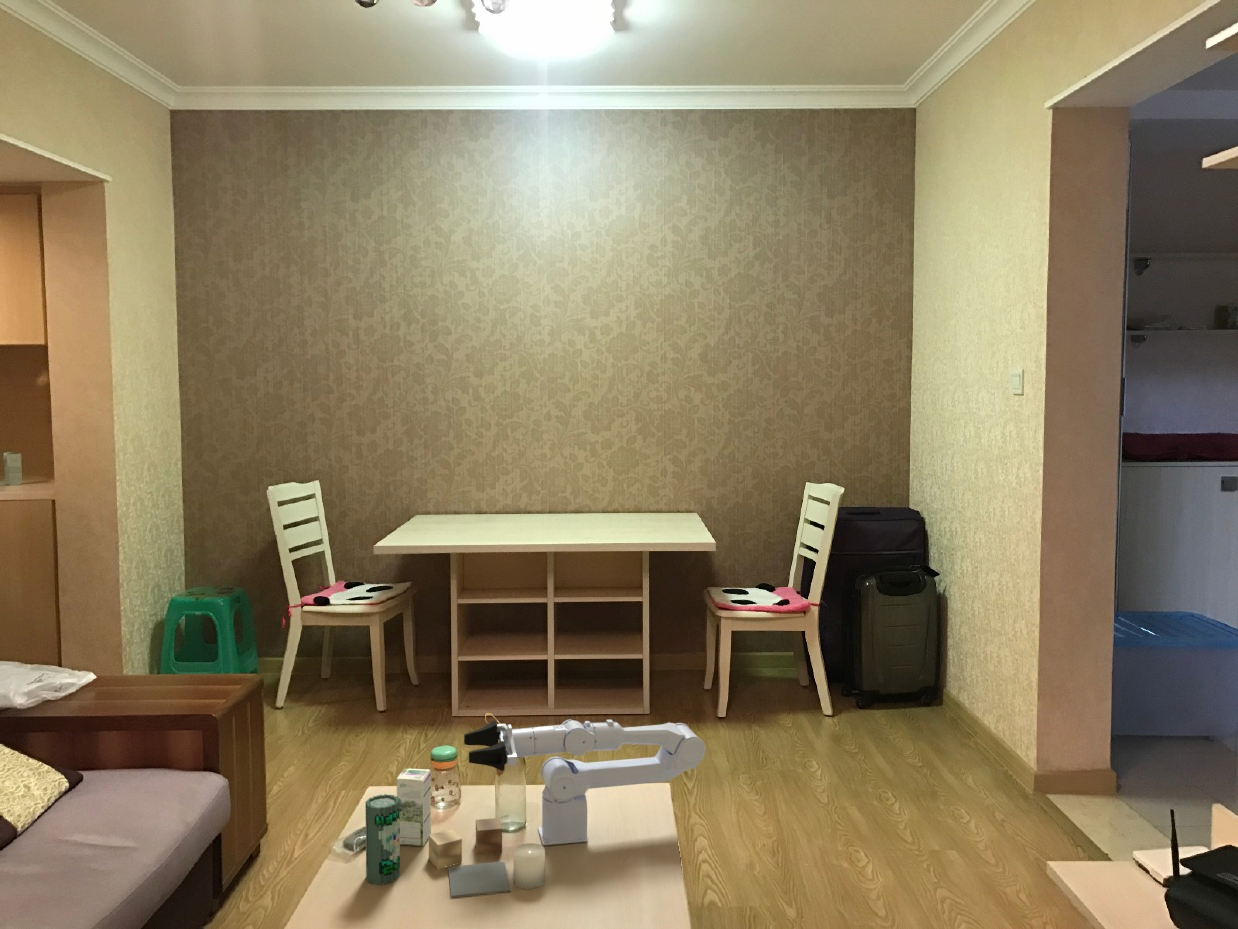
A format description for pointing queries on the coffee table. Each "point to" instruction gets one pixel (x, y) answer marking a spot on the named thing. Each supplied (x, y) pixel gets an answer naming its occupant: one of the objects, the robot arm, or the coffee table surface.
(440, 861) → the oak block
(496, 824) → the walnut block
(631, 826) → the coffee table surface
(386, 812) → the can
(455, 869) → the rubber mat
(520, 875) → the white pillar candle
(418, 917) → the coffee table surface
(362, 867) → the coffee table surface
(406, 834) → the syrup box
